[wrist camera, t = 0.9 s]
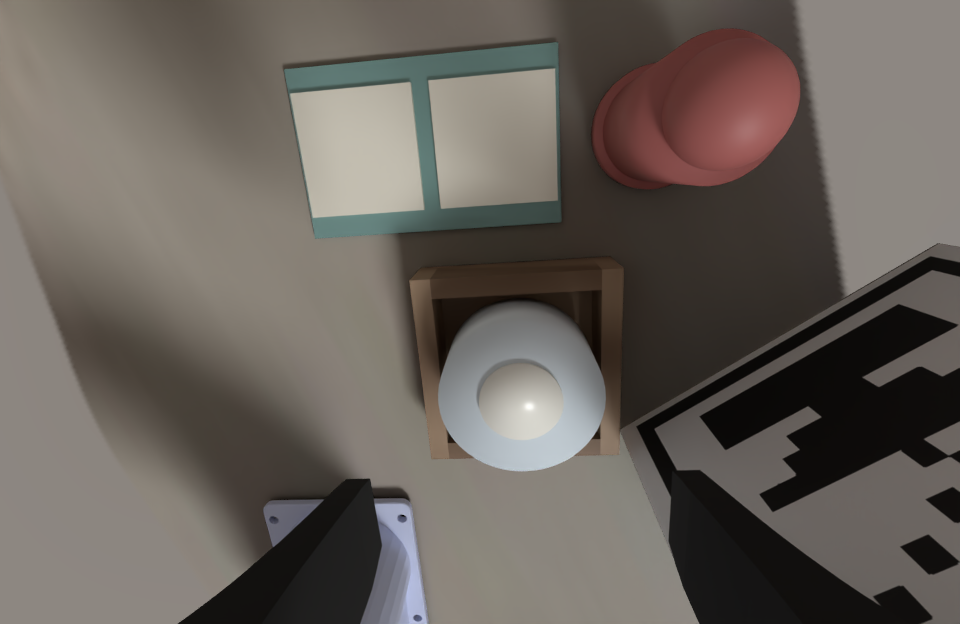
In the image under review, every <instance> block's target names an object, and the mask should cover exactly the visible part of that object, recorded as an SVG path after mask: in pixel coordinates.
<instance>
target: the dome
mask: <svg viewBox="0 0 960 624" xmlns="http://www.w3.org/2000/svg"><path fill="white" fill-rule="evenodd" d="M605 402H606V392H605V385H604V380H603V377H602V374H601V371H600V369H599V366H598V364H597V362H596V360H595V357H594V355H593V353H592V351H591V349H590V346H589V344H588V342H587V340H586V338H585V336H584V334H583V332H582V330H581V329H580V327H579V326H578V325H577V323H576V322H575V321H574V320H573V319H572V318H571V317H570V316H569V315H567V314H566V313H565V312H564V311H562V310H561V309H559V308H557V307H555V306H554V305H551V304H549V303H546V302H544V301H540V300H536V299H530V298H510V299H504V300H500V301H496V302H493V303H491V304H488V305H486V306H484V307H483V308H481V309H479V310H478V311H476V312H475V313H473V314H472V315H471V316H470V317H469V318H468V319H467V320H466V321H465V322H464V323H463V324H462V326H461V327H460V328H459V330H458V332H457V333H456V335H455V337H454V340H453V342H452V345H451V348H450V351H449V354H448V357H447V360H446V363H445V366H444V369H443V372H442V375H441V379H440V383H439V390H438V404H439V409H440V414H441V417H442V420H443V423H444V425H445V427H446V429H447V431H448V432H449V434H450V435H451V437H452V438H453V439H454V441H455V442H456V443H457V444H458V445H459V446H460V447H461V448H462V449H463V450H464V451H466V452H467V453H468V454H470V455H471V456H473V457H474V458H475V459H477V460H479V461H481V462H483V463H485V464H488V465H490V466H493V467H497V468H500V469H504V470H511V471H534V470H540V469H545V468H548V467H552V466H555V465H557V464H559V463H562V462H564V461H566V460H567V459H569V458H571V457H572V456H574V455H575V454H576V453H578V452H579V451H580V450H582V449H583V448H584V447H585V446H586V445H587V444H588V442H589V441H590V440H591V439H592V437H593V436H594V435H595V433H596V431H597V429H598V428H599V425H600V423H601V420H602V418H603V414H604V410H605Z"/></svg>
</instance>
